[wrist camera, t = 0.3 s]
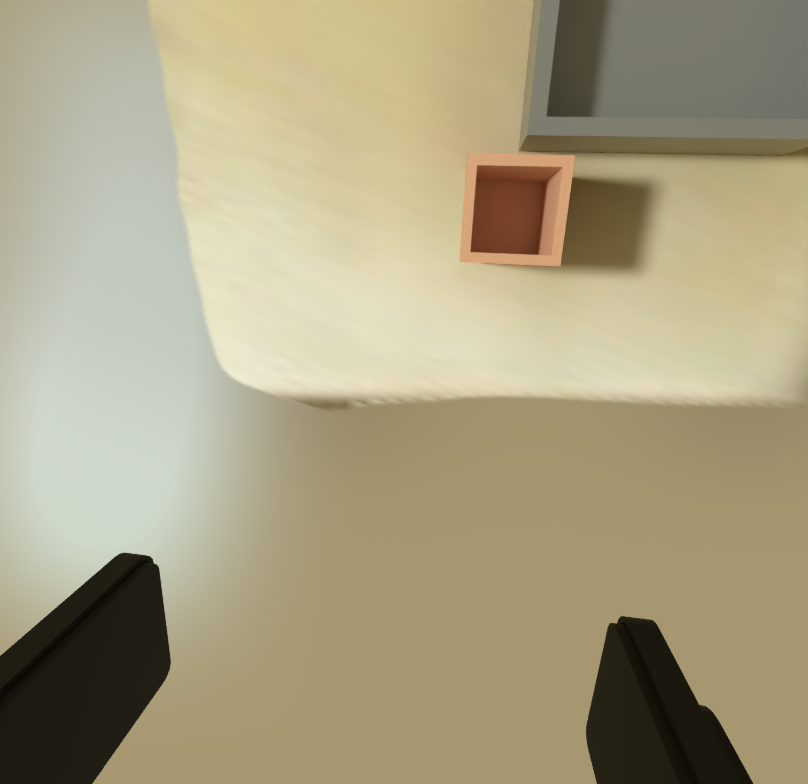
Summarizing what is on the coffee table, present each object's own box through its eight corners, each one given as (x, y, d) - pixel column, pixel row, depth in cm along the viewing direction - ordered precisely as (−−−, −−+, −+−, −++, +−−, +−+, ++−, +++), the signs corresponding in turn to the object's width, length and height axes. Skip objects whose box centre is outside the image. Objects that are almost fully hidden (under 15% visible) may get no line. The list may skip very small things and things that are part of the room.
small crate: (466, 173, 33) (467, 153, 26) (552, 175, 32) (575, 155, 26) (460, 260, 35) (459, 262, 28) (541, 263, 34) (560, 266, 27)
